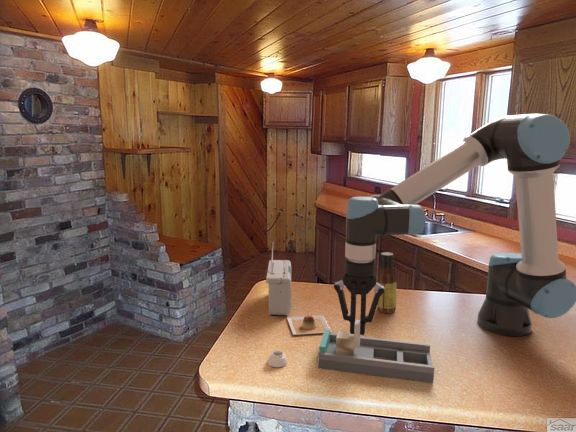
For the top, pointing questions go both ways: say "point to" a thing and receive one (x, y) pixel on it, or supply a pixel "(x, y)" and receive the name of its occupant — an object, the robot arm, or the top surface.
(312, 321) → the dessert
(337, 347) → the maple block
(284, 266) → the stereo radio cassette player
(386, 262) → the sauce bottle
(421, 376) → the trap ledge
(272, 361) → the white jar
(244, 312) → the top surface
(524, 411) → the top surface
